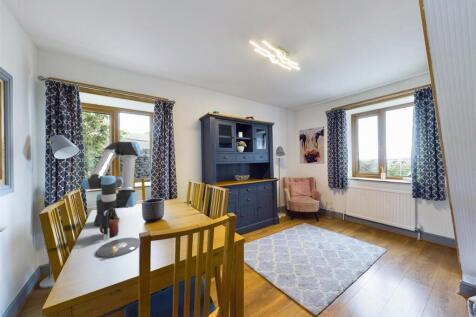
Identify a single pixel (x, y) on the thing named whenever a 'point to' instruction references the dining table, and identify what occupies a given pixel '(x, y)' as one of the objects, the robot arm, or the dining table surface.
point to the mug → (112, 227)
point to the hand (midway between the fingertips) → (109, 235)
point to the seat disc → (118, 247)
